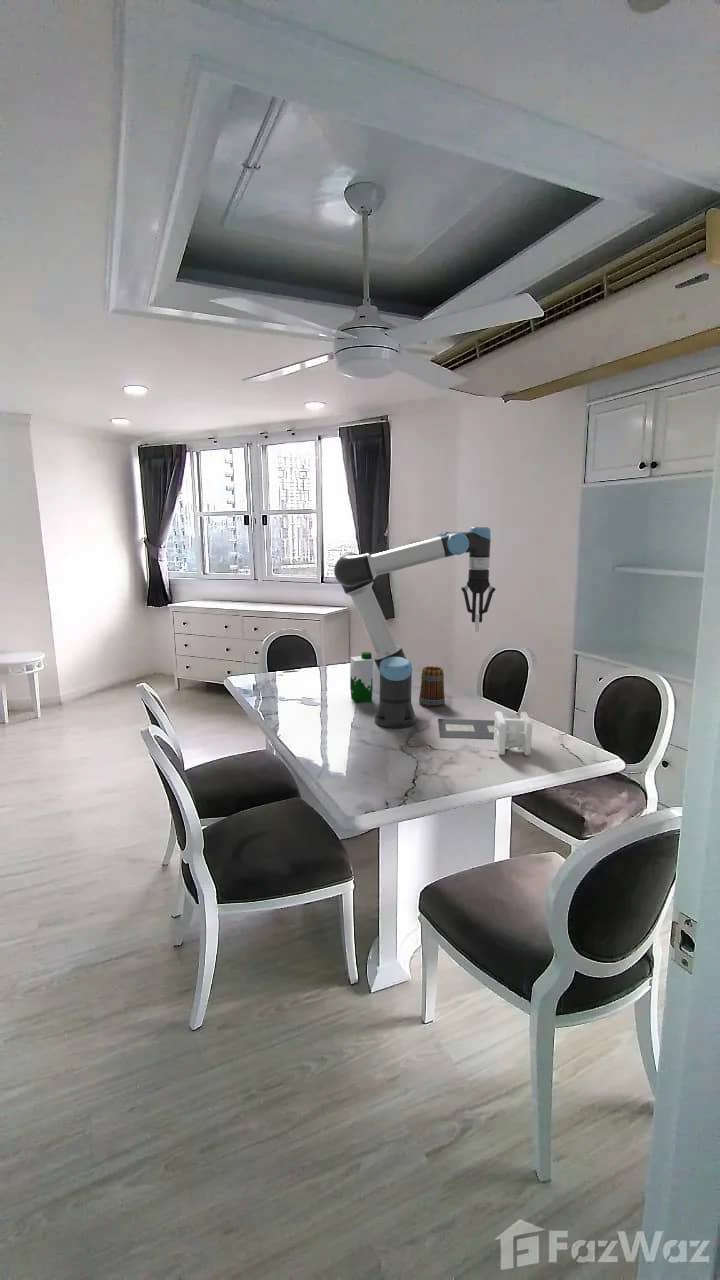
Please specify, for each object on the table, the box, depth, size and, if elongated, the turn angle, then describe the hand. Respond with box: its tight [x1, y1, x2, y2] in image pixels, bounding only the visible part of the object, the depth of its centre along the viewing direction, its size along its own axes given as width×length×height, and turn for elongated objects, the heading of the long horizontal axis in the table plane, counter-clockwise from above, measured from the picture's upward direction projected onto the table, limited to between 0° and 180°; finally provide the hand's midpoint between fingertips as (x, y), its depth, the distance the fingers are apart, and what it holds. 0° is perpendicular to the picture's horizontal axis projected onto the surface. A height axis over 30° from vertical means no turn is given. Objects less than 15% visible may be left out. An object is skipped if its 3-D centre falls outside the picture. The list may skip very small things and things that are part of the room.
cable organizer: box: [493, 710, 533, 757], centre depth 196 cm, size 15×11×12 cm
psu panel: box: [437, 718, 495, 740], centre depth 217 cm, size 30×20×1 cm, turn 85°
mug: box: [418, 664, 446, 709], centre depth 249 cm, size 16×11×15 cm
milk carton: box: [349, 651, 374, 704], centre depth 251 cm, size 9×9×20 cm
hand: (476, 630), depth 231 cm, fingers closed
